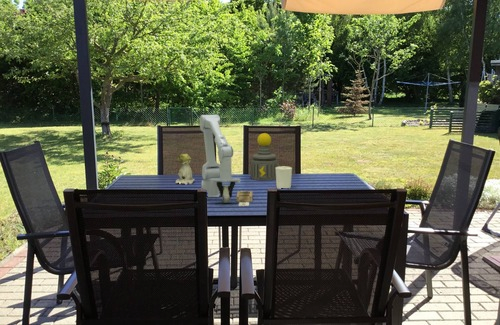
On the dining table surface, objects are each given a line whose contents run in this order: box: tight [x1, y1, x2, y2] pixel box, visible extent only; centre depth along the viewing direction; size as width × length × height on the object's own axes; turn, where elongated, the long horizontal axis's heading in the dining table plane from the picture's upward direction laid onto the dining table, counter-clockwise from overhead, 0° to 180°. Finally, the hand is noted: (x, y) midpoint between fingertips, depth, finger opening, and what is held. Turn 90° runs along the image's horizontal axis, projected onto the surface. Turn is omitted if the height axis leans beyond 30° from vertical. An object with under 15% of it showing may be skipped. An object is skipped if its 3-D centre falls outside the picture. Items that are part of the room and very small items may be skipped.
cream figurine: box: [175, 153, 195, 185], centre depth 263 cm, size 12×13×18 cm
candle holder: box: [275, 166, 293, 190], centre depth 245 cm, size 10×10×12 cm
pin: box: [221, 184, 231, 203], centre depth 210 cm, size 4×4×8 cm
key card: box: [238, 202, 250, 207], centre depth 208 cm, size 5×6×1 cm
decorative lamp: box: [249, 132, 280, 182], centre depth 274 cm, size 19×19×30 cm
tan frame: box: [236, 190, 254, 203], centre depth 220 cm, size 8×14×2 cm, turn 179°
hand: (226, 196), depth 210 cm, fingers closed on pin, 4 cm apart
